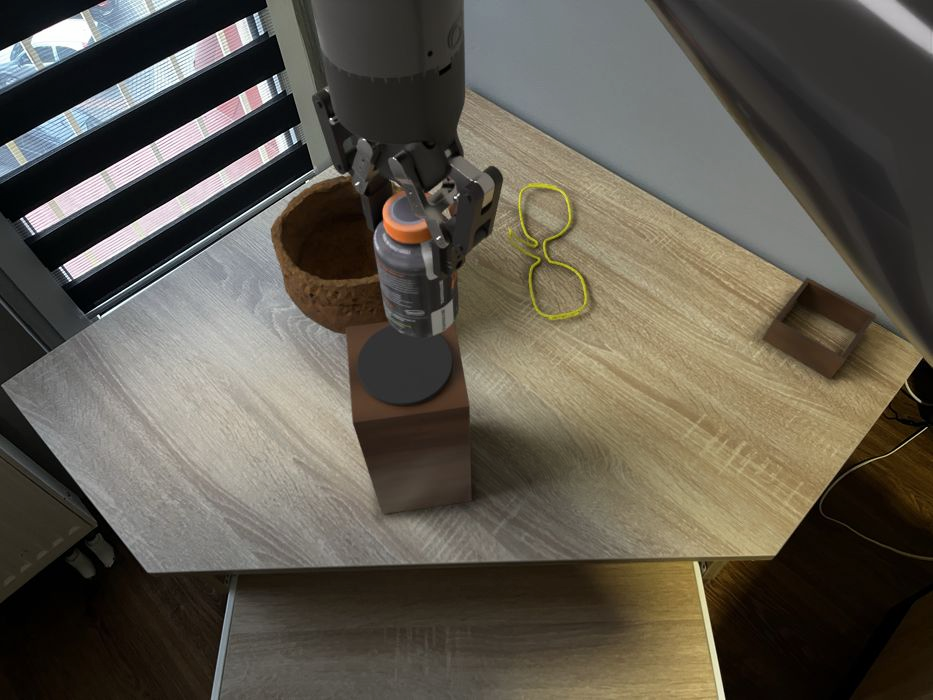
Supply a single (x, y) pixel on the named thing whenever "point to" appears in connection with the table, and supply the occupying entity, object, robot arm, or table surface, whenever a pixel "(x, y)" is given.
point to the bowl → (330, 256)
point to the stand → (413, 436)
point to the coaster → (404, 367)
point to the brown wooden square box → (831, 308)
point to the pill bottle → (412, 273)
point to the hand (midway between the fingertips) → (414, 246)
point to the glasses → (546, 253)
